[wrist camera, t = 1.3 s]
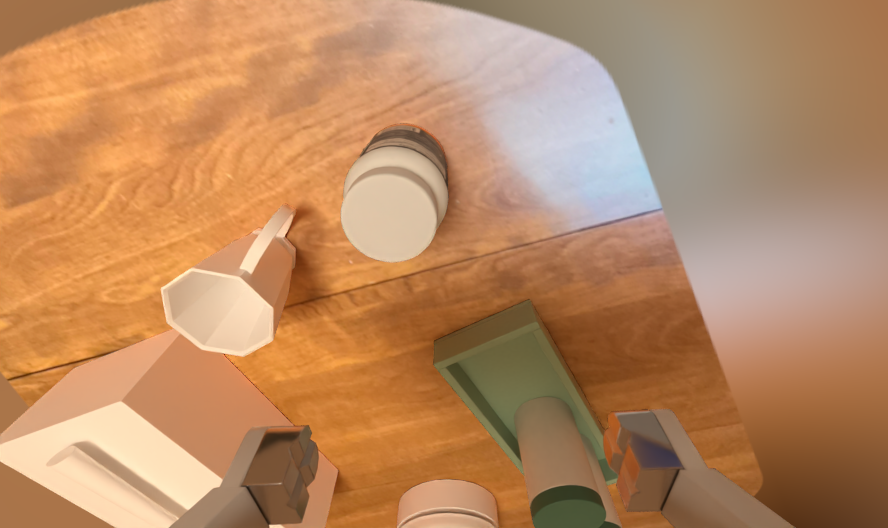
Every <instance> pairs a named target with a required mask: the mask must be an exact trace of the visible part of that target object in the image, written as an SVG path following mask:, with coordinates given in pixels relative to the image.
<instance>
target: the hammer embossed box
mask: <svg viewBox="0 0 888 528" xmlns="http://www.w3.org/2000/svg"><path fill="white" fill-rule="evenodd" d="M261 426H294V425H293V424H292V423H291V422H290V421H289V420H288V419H287V418H286V417H285V416H284V415H283V414H282V413H281V412H280V411H279V410H278V409H277V408H276V407H275V406H274V405H273V404H272V403H271V402H270V401H269V400H268V399H267V398H266V397H265V396H264V395H263V394H262V393H261V392H260V391H259V390H258V389H257V388H256V387H255V386H254V385H253V384H252V383H251V382H250V381H249V380H248V379H247V378H246V377H245V376H244V375H243V374H242V373H241V372H240V371H239V370H238V369H237V368H236V367H235V366H234V365H233V364H232V363H231V362H230V361H229V360H228V359H227V358H226V357H225V356H224V355H223V354H222V353H218V352H211V351H205V350H201V349H200V348H198V347H197V346H196V345H195V344H193V343H192V342H191V341H189V340H188V339H187V338H186V337H184V336H183V335H182V334H180V333H179V332H178V331H177V330H175V329H174V328H173V329H171V330H168V331H166V332H163V333H161V334H158V335H156V336H153V337H151V338H148V339H146V340H143V341H141V342H138V343H136V344H133V345H131V346H128V347H125V348H123V349H120V350H118V351H115V352H113V353H110V354H108V355H105V356H103V357H100V358H98V359H95V360H93V361H90V362H88V363H85V364H83V365H80V366H78V367H75V368H74V369H72V370H71V371H70V372H69V373H68V374H67V375H66V376H65V377H64V378H62V379H61V380H60V381H59V382H58V383H57V384H56V385H55V386H54V387H52V388H51V389H50V390H49V391H48V392H47V393H46V394H45V395H44V396H43V397H41V398H40V399H39V400H38V401H37V402H36V403H35V404H34V405H33V406H31V407H30V408H29V409H28V410H27V411H26V412H25V413H24V414H23V415H22V416H20V417H19V418H18V419H17V420H16V421H15V422H14V423H13V424H12V425H10V426H9V427H8V428H7V429H6V430H5V431H4V432H3V433H2V434H1V435H0V461H1V462H3V463H5V464H6V465H8V466H10V467H12V468H13V469H15V470H17V471H18V472H21V473H22V474H24V475H25V476H27V477H29V478H31V479H32V480H34V481H36V482H37V483H39V484H41V485H43V486H44V487H46V488H48V489H50V490H51V491H53V492H55V493H57V494H58V495H60V496H62V497H64V498H65V499H67V500H69V501H71V502H72V503H74V504H76V505H78V506H79V507H81V508H83V509H85V510H86V511H88V512H90V513H91V514H93V515H95V516H97V517H98V518H100V519H102V520H104V521H106V522H107V523H109V524H111V525H112V526H114V527H116V528H169V527H170V526H171V525H172V524H173V523H175V522H176V521H177V520H178V519H179V518H180V517H181V516H182V515H184V514H185V513H186V512H187V511H188V510H189V509H190V508H191V507H193V506H194V505H195V504H196V503H197V502H198V501H199V500H200V499H202V498H203V497H204V496H205V495H206V494H207V493H208V492H209V491H211V490H212V489H213V488H217V487H220V485H221V483H222V481H223V479H224V477H225V475H226V473H227V471H228V469H229V467H230V465H231V463H232V461H233V459H234V457H235V455H236V453H237V451H238V449H239V447H240V445H241V443H242V441H243V439H244V437H245V435H246V433H247V432H248V431H249V430H250V429H251V427H261ZM318 453H319V460H318V469H317V473H316V476H315V479H314V480H313V482H312V483H311V484H310V485H309V486H308V487H307V490H308V493H309V496H310V497H309V501H308V504H307V508H306V511H305V514H304V518H303V521H302V523H296V524H281V525H269V526H270V528H325V525H326V521H327V516H328V512H329V508H330V504H331V500H332V496H333V491H334V487H335V483H336V479H337V475H338V471H339V470H338V469H337V468H336V467H335V466H334V465H333V464H332V463H331V462H330V461H329V460H328V459H327V458H326V457H325V456H324V455H323V454H322V453H321V452H320V451H319V450H318Z"/></svg>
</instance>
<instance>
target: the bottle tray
mask: <svg viewBox="0 0 888 528" xmlns="http://www.w3.org/2000/svg"><path fill="white" fill-rule="evenodd" d="M433 365H434V366H435V367H436V369H437V370H438V371H439V372H440V374H441V375H442V376H443V377H444V379H445V380H446V381H447V382H448V383H449V385H450V386H451V387H452V388H453V390H454V391H455V392H456V393H457V394H458V396H459V397H460V398H461V399H462V401H463V402H464V403H465V404H466V405H467V407H468V408H469V409H470V410H471V412H472V413H473V414H474V415H475V416H476V418H477V419H478V420H479V421H480V423H481V424H482V425H483V426H484V427H485V429H486V430H487V431H488V432H489V434H490V435H491V436H492V437H493V438H494V440H495V441H496V442H497V443H498V445H499V446H500V447H501V448H502V449H503V451H504V452H505V453H506V454H507V456H508V457H509V458H510V459H511V461H512V462H513V463H514V464H515V465H516V467H517V468H518V469H519V470H520V472H521V473H522V474H523V475H524V471H523V466H522V460H521V455H520V449H519V444H518V438H517V433H516V428H515V422H514V415H515V412H516V410H517V409H518V408H519V407H520V406H521V405H522V404H524V403H525V402H527V401H529V400H532V399H535V398H539V397H554V398H558V399H561V400H563V401H564V402H566V403H567V404H568V405H569V406H570V408H571V410H572V413H573V416H574V419H575V422H576V425H577V428H578V431H579V433H580V434H582V435H585V436H586V437H588V438H589V439H590V441H591V443H592V445H593V448H594V451H595V454H596V456H597V459H598V462H599V465H600V467H601V470H602V473H603V476H604V478H605V481H606V484H607V485H610V484H614V483H617V480H618V475H617V474H616V473H615V472H614V471H613V470H612V469H610V468H609V465H608V462H607V460H606V456H605V452H604V446H603V436H604V429H603V427H602V426H601V424H600V422H599V420H598V419H597V417H596V415H595V413H594V412H593V410H592V408H591V406H590V404H589V403H588V401H587V399H586V397H585V396H584V394H583V392H582V390H581V389H580V387H579V385H578V383H577V382H576V380H575V378H574V376H573V375H572V373H571V371H570V369H569V368H568V366H567V364H566V362H565V360H564V359H563V357H562V355H561V353H560V352H559V350H558V348H557V346H556V345H555V343H554V341H553V339H552V338H551V336H550V334H549V332H548V331H547V329H546V327H545V325H544V324H543V322H542V320H541V318H540V316H539V315H538V313H537V311H536V309H535V308H534V306H533V304H532V302H531V301H530V299H529V300H527V301H524V302H522V303H520V304H517V305H515V306H513V307H511V308H508V309H506V310H504V311H501V312H499V313H497V314H495V315H492V316H490V317H488V318H485V319H483V320H481V321H479V322H476V323H474V324H472V325H469V326H467V327H465V328H463V329H460V330H458V331H456V332H453V333H451V334H449V335H447V336H444V337H442V338H440V339H437V340H435V341H434V359H433Z"/></svg>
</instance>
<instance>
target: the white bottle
mask: <svg viewBox="0 0 888 528" xmlns="http://www.w3.org/2000/svg"><path fill="white" fill-rule="evenodd" d="M514 422H515V428H516V433H517V438H518V444H519V449H520V455H521V460H522V466H523V471H524V477H525V482H526V488H527V493H528V499H529V504H530V509H531V515H532V520H533V524H534V526H535V528H598V527H600V526H601V525H602V524H603V523H604V521H605V519H606V510H605V507H604V505H603V502H602V499H601V496H600V493H599V490H598V487H597V484H596V481H595V478H594V475H593V472H592V469H591V466H590V463H589V460H588V458H587V455H586V452H585V449H584V446H583V443H582V440H581V437H580V434H579V431H578V428H577V425H576V422H575V419H574V416H573V413H572V410H571V408H570V406H569V405H568V404H567V403H566V402H564V401H563V400H561V399H558V398H554V397H539V398H535V399H532V400H529V401H527V402H525V403H524V404H522V405H521V406H520V407H519V408H518V409H517V410H516V412H515V415H514Z"/></svg>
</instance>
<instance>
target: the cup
mask: <svg viewBox="0 0 888 528" xmlns="http://www.w3.org/2000/svg"><path fill="white" fill-rule="evenodd" d="M295 213H296V209H295V208H293V207H291V206H290V205H288V204H286V203H285V204H283V205H282V206H281V207H280V208H279V209H278V210H277V212H276V213H275V214H274V215H273V216H272V218H271V219H270V220H269V221H268V223H267V224H266V225H265V227H264V228H263V229H261V228H258V229H256V230H255V231H253V232H252V233H250V234H249V235H247V236H245V237H242V238H240V239H237V240H235V241H233V242H232V243H230V244H229V245H227V246H226V247H224V248H222V249H221V250H219V251H218V252H216V253H215V254H213V255H211V256H210V257H208V258H206V259H204V260H203V261H201V262H200V263H198V264H197V265H195V266H193V267H192V268H190V269H189V270H187V271H186V272H184V273H183V274H181V275H180V276H178V277H177V278H175V279H174V280H172V281H171V282H169V283H168V284H166V285H165V286H164V287H162V288H161V293H162V298H163V304H164V310H165V315H166V321H167V323H168V324H169V325H170V326H172V327H173V328H174V329H175V330H177V331H178V332H179V333H180V334H182V335H183V336H184V337H186V338H187V339H188V340H189V341H191V342H192V343H193V344H195V345H196V346H197V347H198V348H200V349H201V350H205V351H211V352H218V353H224V354H230V355H236V356H243V357H244V356H246V355H248V354H250V353H251V352H253V351H255V350H257V349H259V348H260V347H262V346H264V345H266V344H268V343H270V342H271V341H273V339H274V336H275V333H276V330H277V327H278V324H279V321H280V317H281V314H282V311H283V308H284V305H285V302H286V299H287V296H288V293H289V287H290V281H291V273H292V269H294V268H295V262H296V248H295V247H294V246H293V245H292V244H291V243H290V242H289V241H288V239H287V238H286V237H285V235H286V233H287V231H288V229H289V227H290V225H291V223H292V221H293V218H294V216H295Z"/></svg>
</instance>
